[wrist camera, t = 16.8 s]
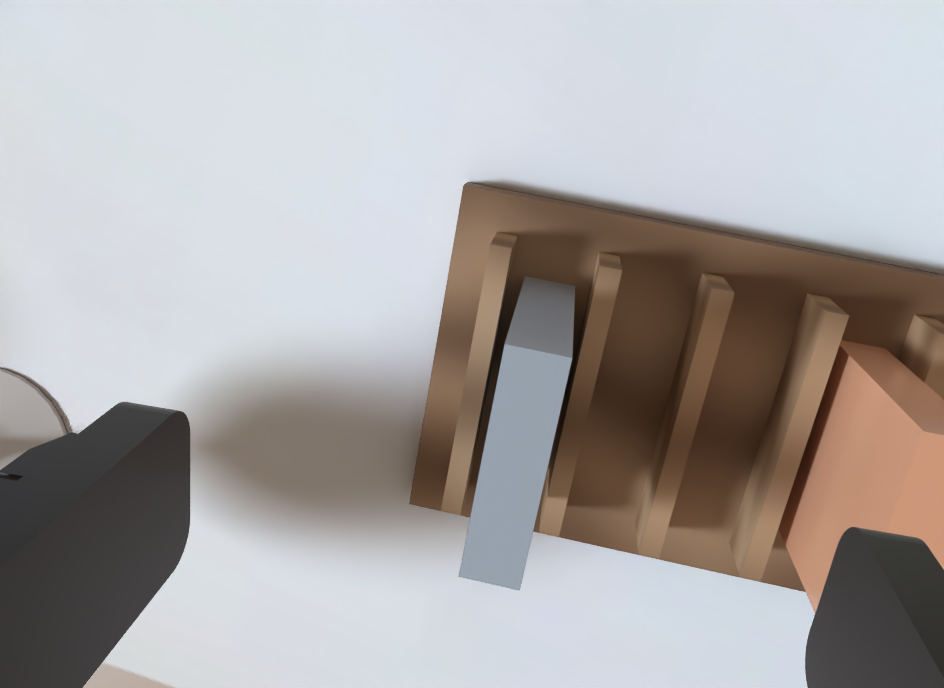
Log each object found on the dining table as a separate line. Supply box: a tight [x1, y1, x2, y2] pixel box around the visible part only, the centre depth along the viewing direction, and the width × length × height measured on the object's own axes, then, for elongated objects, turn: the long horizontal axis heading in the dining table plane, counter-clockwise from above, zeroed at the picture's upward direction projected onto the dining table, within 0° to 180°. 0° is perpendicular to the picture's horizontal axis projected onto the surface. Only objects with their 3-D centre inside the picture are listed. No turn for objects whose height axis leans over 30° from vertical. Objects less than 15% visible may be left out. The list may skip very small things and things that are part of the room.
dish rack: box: [409, 182, 944, 592], centre depth 33 cm, size 14×20×4 cm
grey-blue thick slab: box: [459, 276, 575, 590], centre depth 30 cm, size 8×2×9 cm, turn 170°
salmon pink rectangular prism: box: [778, 340, 944, 613], centre depth 29 cm, size 8×2×9 cm, turn 170°
